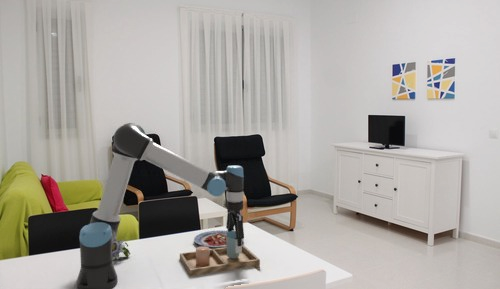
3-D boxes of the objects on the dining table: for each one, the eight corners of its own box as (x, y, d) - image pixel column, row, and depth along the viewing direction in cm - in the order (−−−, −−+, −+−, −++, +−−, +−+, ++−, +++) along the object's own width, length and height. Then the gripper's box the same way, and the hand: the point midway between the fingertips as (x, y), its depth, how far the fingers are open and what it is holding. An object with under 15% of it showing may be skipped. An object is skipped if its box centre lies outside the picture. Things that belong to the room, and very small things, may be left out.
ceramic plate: (184, 241, 213) (184, 235, 212) (222, 231, 230) (222, 226, 230) (214, 255, 194) (214, 248, 193) (254, 242, 211) (254, 237, 211)
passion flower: (111, 272, 185) (94, 254, 182) (116, 259, 196) (99, 241, 192) (131, 259, 185) (114, 240, 181) (135, 246, 195) (119, 228, 191)
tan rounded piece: (197, 267, 175) (197, 252, 175) (194, 262, 181) (194, 247, 180) (211, 265, 178) (211, 250, 177) (207, 260, 183) (207, 245, 182)
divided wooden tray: (190, 278, 167) (190, 270, 167) (179, 260, 186) (179, 253, 185) (259, 267, 179) (259, 259, 178) (243, 252, 197) (243, 245, 197)
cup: (244, 258, 185) (245, 237, 182) (228, 260, 182) (229, 239, 179) (238, 250, 192) (239, 230, 189) (222, 252, 189) (223, 232, 186)
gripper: (252, 205, 173) (251, 256, 175) (234, 194, 194) (234, 240, 196) (235, 206, 170) (235, 258, 173) (219, 195, 191) (219, 242, 193)
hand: (234, 248), depth 184 cm, fingers open, 9 cm apart
